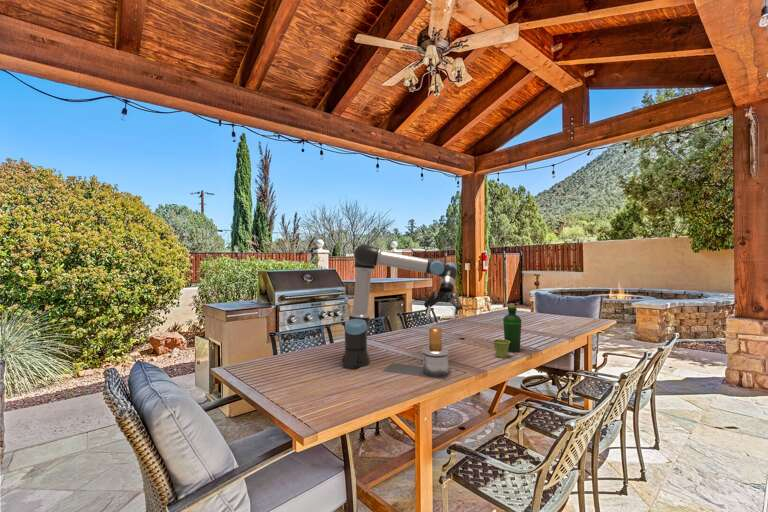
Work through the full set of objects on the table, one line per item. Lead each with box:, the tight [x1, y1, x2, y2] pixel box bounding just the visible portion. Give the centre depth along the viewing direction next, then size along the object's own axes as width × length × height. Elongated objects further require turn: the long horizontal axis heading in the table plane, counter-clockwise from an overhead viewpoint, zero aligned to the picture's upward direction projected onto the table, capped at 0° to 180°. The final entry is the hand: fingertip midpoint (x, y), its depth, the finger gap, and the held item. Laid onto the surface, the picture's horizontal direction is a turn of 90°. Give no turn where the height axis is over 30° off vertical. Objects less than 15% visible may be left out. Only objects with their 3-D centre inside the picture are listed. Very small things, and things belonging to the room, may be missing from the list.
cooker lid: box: [421, 327, 450, 356], centre depth 168 cm, size 13×13×11 cm
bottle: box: [502, 303, 522, 353], centre depth 210 cm, size 11×11×28 cm
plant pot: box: [492, 338, 510, 359], centre depth 199 cm, size 9×9×9 cm
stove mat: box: [381, 362, 453, 381], centre depth 172 cm, size 32×14×1 cm, turn 67°
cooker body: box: [422, 353, 449, 378], centre depth 168 cm, size 12×12×10 cm
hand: (440, 318), depth 178 cm, fingers open, 13 cm apart
